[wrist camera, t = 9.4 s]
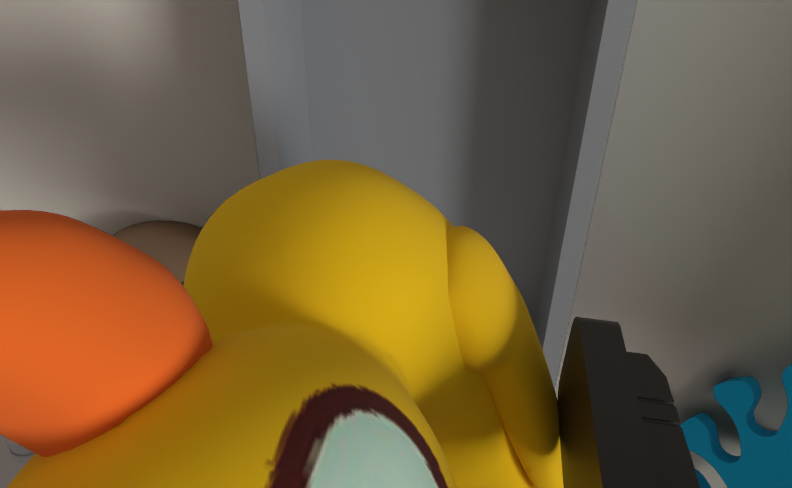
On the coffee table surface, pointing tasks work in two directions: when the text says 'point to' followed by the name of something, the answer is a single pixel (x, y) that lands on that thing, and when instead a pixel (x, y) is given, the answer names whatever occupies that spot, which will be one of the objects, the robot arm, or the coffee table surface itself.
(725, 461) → the gear
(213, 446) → the duckling
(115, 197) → the coffee table surface
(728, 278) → the coffee table surface
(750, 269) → the coffee table surface
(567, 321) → the tray
